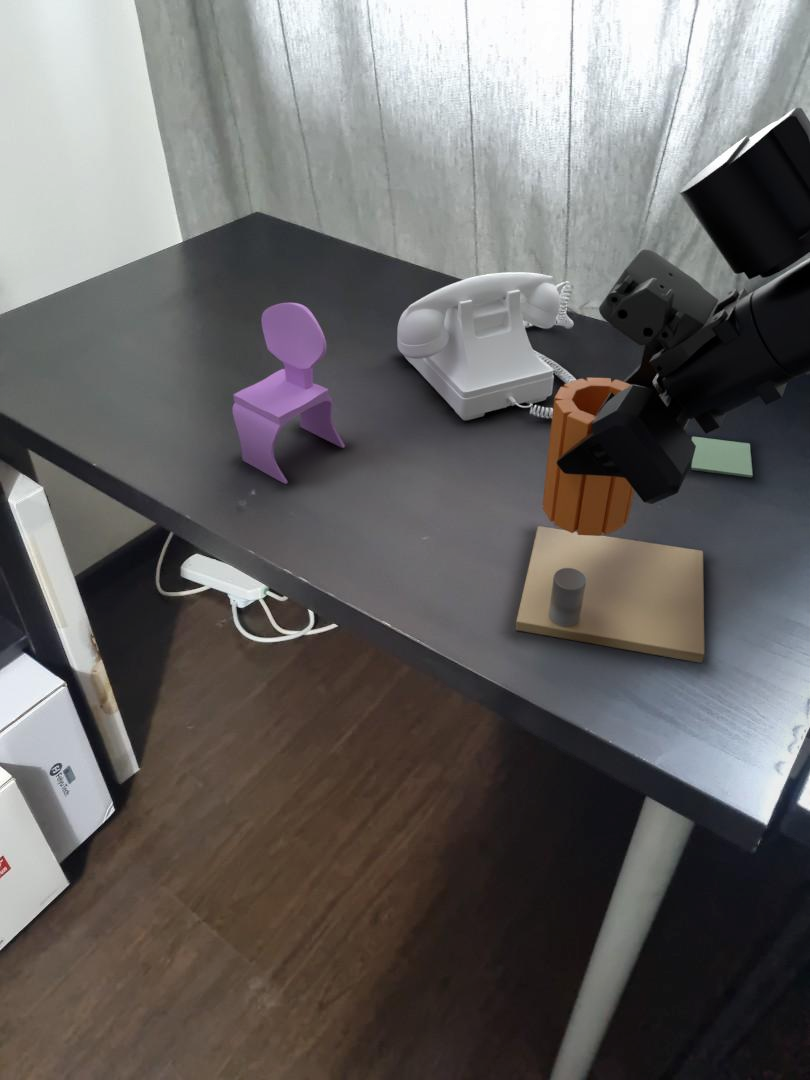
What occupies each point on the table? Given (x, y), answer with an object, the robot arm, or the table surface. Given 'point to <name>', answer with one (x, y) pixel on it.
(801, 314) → the robot arm
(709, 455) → the grey flat piece
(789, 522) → the table surface
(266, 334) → the toy chair
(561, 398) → the pen holder
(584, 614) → the ring board
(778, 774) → the table surface
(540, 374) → the telephone
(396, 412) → the table surface
